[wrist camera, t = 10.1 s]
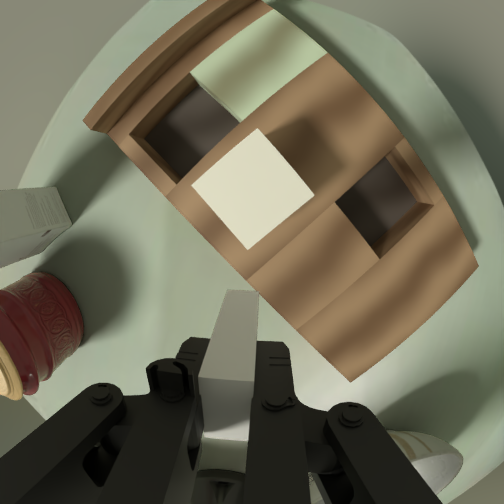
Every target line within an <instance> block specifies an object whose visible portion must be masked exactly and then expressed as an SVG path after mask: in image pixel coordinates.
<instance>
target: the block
mask: <svg viewBox="0 0 504 504" xmlns="http://www.w3.org/2000/svg"><path fill="white" fill-rule="evenodd" d="M191 186H192V187H193V188H194V189H195V190H196V191H197V193H198V194H199V195H200V196H201V197H202V198H203V199H204V201H205V202H206V203H207V204H208V205H209V206H210V208H211V209H212V210H213V211H214V212H215V213H216V214H217V216H218V217H219V218H220V219H221V220H222V221H223V222H224V224H225V225H226V226H227V227H228V228H229V229H230V230H231V232H232V233H233V234H234V235H235V236H236V237H237V239H238V240H239V241H240V242H241V243H242V244H243V245H244V247H245V248H246V249H247V250H248V249H250V248H251V247H252V246H253V245H255V244H256V243H257V242H258V241H259V240H261V239H262V238H263V237H264V236H266V235H267V234H268V233H269V232H270V231H272V230H273V229H274V228H275V227H277V226H278V225H279V224H280V223H281V222H283V221H284V220H285V219H286V218H288V217H289V216H290V215H291V214H292V213H294V212H295V211H296V210H297V209H299V208H300V207H301V206H302V205H303V204H305V203H306V202H307V201H308V200H310V199H311V198H312V197H313V196H314V194H313V192H312V191H311V190H310V189H309V187H308V186H307V185H306V184H305V183H304V181H303V180H302V179H301V178H300V176H299V175H298V174H297V173H296V172H295V170H294V169H293V168H292V167H291V166H290V164H289V163H288V162H287V161H286V160H285V159H284V157H283V156H282V155H281V154H280V153H279V152H278V151H277V149H276V148H275V147H274V146H273V145H272V144H271V143H270V141H269V140H268V139H267V138H266V137H265V136H264V135H263V134H262V132H261V131H260V130H259V129H258V128H257V129H256V130H254V131H253V132H252V133H251V134H250V135H248V136H247V137H246V138H245V139H243V140H242V141H241V142H240V143H239V144H237V145H236V146H235V147H234V148H233V149H232V150H230V151H229V152H228V153H227V154H226V155H225V156H223V157H222V158H221V159H220V160H219V161H218V162H216V163H215V164H214V165H213V166H212V167H211V168H210V169H209V170H207V171H206V172H205V173H204V174H203V175H202V176H201V177H200V178H199V179H198V180H196V181H195V182H194V183H193V184H192V185H191Z"/></svg>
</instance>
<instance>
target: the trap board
mask: <svg viewBox="0 0 504 504" xmlns="http://www.w3.org/2000/svg"><path fill="white" fill-rule="evenodd" d="M83 122H84V123H85V124H86V125H87V126H88V127H89V129H90V130H93V131H98V132H102V133H106V134H108V135H109V136H110V137H111V139H112V140H113V141H114V142H115V143H116V144H117V145H118V146H119V147H120V148H121V150H122V151H123V152H124V153H125V154H126V155H127V156H128V157H129V158H130V159H131V160H132V162H133V163H134V164H135V165H136V166H137V167H138V168H139V169H140V170H141V171H142V172H143V174H144V175H145V176H146V177H147V178H148V179H149V180H150V181H151V182H152V183H153V184H154V185H155V186H156V187H157V189H158V190H159V191H160V192H161V193H162V194H163V195H164V196H165V197H166V198H167V199H168V200H169V201H170V202H171V203H172V205H173V206H174V207H175V208H176V209H177V210H178V211H179V212H180V213H181V214H182V215H183V216H184V217H185V218H186V219H187V220H188V221H189V222H190V223H191V224H192V226H193V227H194V228H195V229H196V230H197V231H198V232H199V233H200V234H201V235H202V236H203V237H204V238H205V239H206V240H207V241H208V242H209V243H210V244H211V245H212V246H213V247H214V248H215V249H216V250H217V251H218V252H219V253H220V254H221V256H222V257H223V258H224V259H225V260H226V261H227V262H228V263H229V264H230V265H231V266H232V267H233V268H234V269H235V270H236V271H237V272H238V273H239V274H240V275H241V276H242V277H243V278H244V279H245V280H246V281H247V282H248V283H249V284H250V285H251V286H252V287H253V288H254V289H255V290H256V291H259V294H260V295H261V296H262V297H263V298H264V299H265V300H266V301H267V302H268V303H269V304H270V305H271V306H272V307H273V308H274V309H275V310H276V311H277V312H278V313H279V314H280V315H281V316H282V317H283V318H284V319H285V320H286V321H287V322H288V323H289V324H290V325H291V326H292V327H293V328H294V329H295V330H296V331H297V332H298V333H299V334H300V335H302V336H303V337H304V338H305V339H306V340H307V341H308V342H309V343H310V344H311V345H312V346H313V347H314V348H315V349H316V350H317V351H318V352H319V353H320V354H321V355H322V356H323V357H324V358H325V359H326V360H327V361H328V362H329V363H331V364H332V365H333V366H334V367H335V368H336V369H337V370H338V371H339V372H340V373H341V374H342V375H343V376H344V377H345V378H346V379H347V380H348V381H349V382H352V381H353V380H355V379H356V378H358V377H359V376H360V375H362V374H363V373H364V372H366V371H367V370H368V369H370V368H371V367H372V366H374V365H375V364H376V363H378V362H379V361H380V360H381V359H383V358H384V357H385V356H387V355H388V354H389V353H390V352H391V351H393V350H394V349H395V348H396V347H398V346H399V345H400V344H401V343H402V342H403V341H405V340H406V339H407V338H408V337H409V336H410V335H412V334H413V333H414V332H415V331H416V330H417V329H418V328H419V327H420V326H422V325H423V324H424V323H425V322H426V321H427V320H428V319H429V318H430V317H431V316H432V315H433V314H434V313H435V312H436V311H437V310H438V309H439V308H440V307H441V306H442V305H443V304H444V303H445V302H446V301H447V300H448V299H449V298H450V297H451V296H452V295H453V294H454V293H455V292H456V291H457V290H458V289H459V288H460V287H461V286H462V285H463V284H464V282H465V281H466V280H467V279H468V278H469V277H470V276H471V275H472V273H473V272H474V271H475V270H476V269H477V268H478V266H479V265H478V263H477V261H476V258H475V256H474V254H473V252H472V250H471V247H470V245H469V243H468V241H467V239H466V237H465V235H464V233H463V231H462V229H461V227H460V225H459V223H458V221H457V219H456V217H455V215H454V214H453V212H452V210H451V208H450V206H449V205H448V203H447V201H446V199H445V198H444V196H443V194H442V193H441V191H440V189H439V188H438V186H437V184H436V183H435V181H434V179H433V178H432V176H431V175H430V173H429V172H428V170H427V169H426V167H425V166H424V164H423V163H422V161H421V160H420V158H419V157H418V155H417V154H416V152H415V151H414V150H413V148H412V147H411V145H410V144H409V143H408V141H407V140H406V139H405V137H404V136H403V135H402V133H401V132H400V131H399V130H398V128H397V127H396V126H395V124H394V123H393V122H392V121H391V119H390V118H389V117H388V116H387V115H386V113H385V112H384V111H383V110H382V109H381V107H380V106H379V105H378V104H377V103H376V102H375V100H374V99H373V98H372V97H371V96H370V95H369V94H368V93H367V92H366V90H365V89H364V88H363V87H362V86H361V85H360V84H359V83H358V82H357V81H356V80H355V79H354V78H353V77H352V76H351V75H350V74H349V73H348V72H347V71H346V70H345V69H344V68H343V67H342V66H341V65H340V64H339V63H338V62H337V61H336V60H335V59H334V58H333V57H332V56H331V55H330V54H329V53H328V52H326V51H325V50H324V49H323V48H322V47H321V46H320V45H319V44H317V43H316V42H315V41H314V40H313V39H312V38H310V37H309V36H308V35H307V34H306V33H304V32H303V31H302V30H301V29H300V28H298V27H297V26H296V25H295V24H293V23H292V22H291V21H289V20H288V19H287V18H285V17H284V16H283V15H281V14H280V13H279V12H277V11H276V10H274V9H273V8H272V7H270V6H269V5H267V4H266V3H264V2H263V1H262V0H207V1H205V2H204V3H203V4H201V5H200V6H198V7H197V8H196V9H194V10H193V11H192V12H190V13H189V14H188V15H186V16H185V17H184V18H182V19H181V20H180V21H179V22H177V23H176V24H175V25H174V26H173V27H171V28H170V29H169V30H168V31H167V32H165V33H164V34H163V35H162V36H161V37H160V38H158V39H157V40H156V41H155V42H154V43H153V44H152V45H151V46H150V47H148V48H147V49H146V50H145V51H144V52H143V53H142V54H141V55H140V56H139V57H138V58H137V59H136V60H135V61H134V62H133V63H132V64H131V65H130V66H129V67H128V68H127V69H126V70H125V71H124V72H123V73H122V74H121V75H120V76H119V77H118V79H117V80H116V81H115V82H114V83H113V84H112V85H111V86H110V87H109V89H108V90H107V91H106V92H105V93H104V94H103V95H102V97H101V98H100V99H99V100H98V101H97V103H96V104H95V105H94V106H93V108H92V109H91V110H90V111H89V113H88V114H87V115H86V116H85V118H84V119H83ZM257 128H258V129H259V130H260V131H261V132H262V134H263V135H264V136H265V137H266V138H267V139H268V140H269V141H270V143H271V144H272V145H273V146H274V147H275V148H276V149H277V151H278V152H279V153H280V154H281V155H282V156H283V157H284V159H285V160H286V161H287V162H288V163H289V164H290V166H291V167H292V168H293V169H294V170H295V172H296V173H297V174H298V175H299V176H300V178H301V179H302V180H303V181H304V183H305V184H306V185H307V186H308V187H309V189H310V190H311V191H312V192H313V194H314V196H313V197H312V198H311V199H310V200H308V201H307V202H306V203H305V204H303V205H302V206H301V207H300V208H299V209H297V210H296V211H295V212H294V213H292V214H291V215H290V216H289V217H288V218H286V219H285V220H284V221H283V222H281V223H280V224H279V225H278V226H277V227H275V228H274V229H273V230H272V231H270V232H269V233H268V234H267V235H266V236H264V237H263V238H262V239H261V240H259V241H258V242H257V243H256V244H255V245H253V246H252V247H251V248H250V249H248V250H247V249H246V248H245V247H244V245H243V244H242V243H241V242H240V241H239V240H238V239H237V237H236V236H235V235H234V234H233V233H232V232H231V230H230V229H229V228H228V227H227V226H226V225H225V224H224V222H223V221H222V220H221V219H220V218H219V217H218V216H217V214H216V213H215V212H214V211H213V210H212V209H211V208H210V206H209V205H208V204H207V203H206V202H205V201H204V199H203V198H202V197H201V196H200V195H199V194H198V193H197V191H196V190H195V189H194V188H193V187H192V186H191V185H192V184H193V183H194V182H195V181H196V180H198V179H199V178H200V177H201V176H202V175H203V174H204V173H205V172H206V171H207V170H209V169H210V168H211V167H212V166H213V165H214V164H215V163H216V162H218V161H219V160H220V159H221V158H222V157H223V156H225V155H226V154H227V153H228V152H229V151H230V150H232V149H233V148H234V147H235V146H236V145H237V144H239V143H240V142H241V141H242V140H243V139H245V138H246V137H247V136H248V135H250V134H251V133H252V132H253V131H254V130H256V129H257Z"/></svg>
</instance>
